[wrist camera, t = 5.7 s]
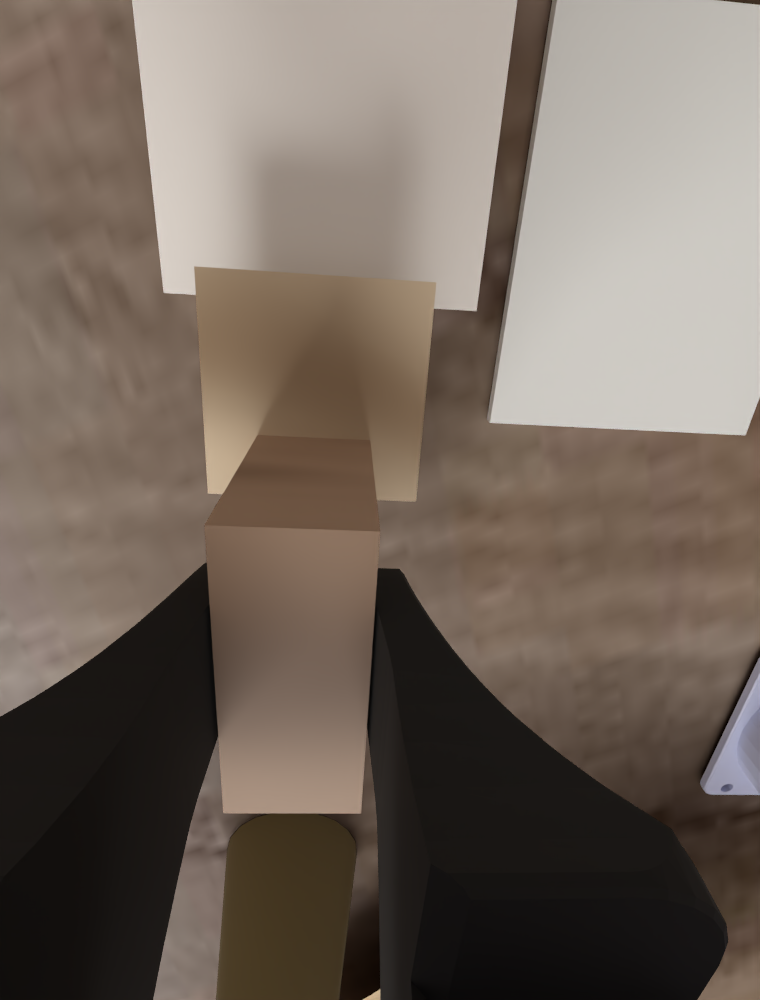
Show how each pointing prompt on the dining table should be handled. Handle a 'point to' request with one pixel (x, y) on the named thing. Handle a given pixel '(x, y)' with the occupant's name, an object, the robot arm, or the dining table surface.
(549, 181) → the plate
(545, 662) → the dining table surface
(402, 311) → the tan blocky piece
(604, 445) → the dining table surface
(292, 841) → the cork
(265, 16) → the tile
